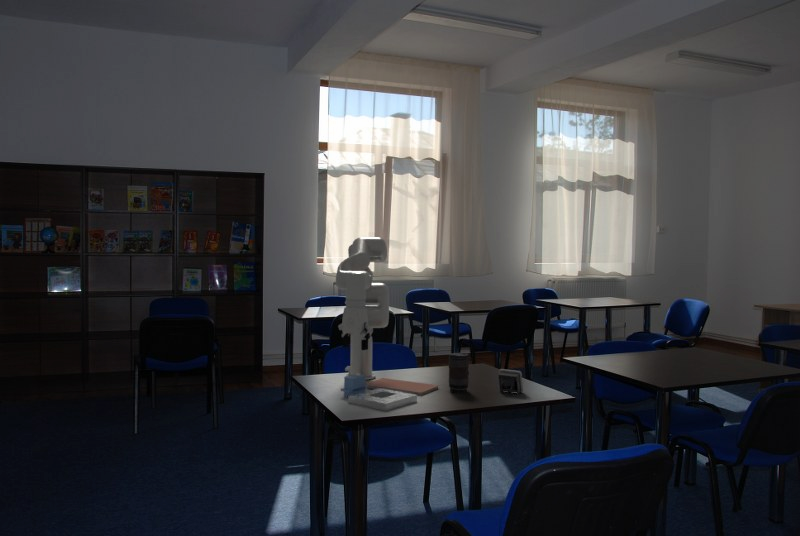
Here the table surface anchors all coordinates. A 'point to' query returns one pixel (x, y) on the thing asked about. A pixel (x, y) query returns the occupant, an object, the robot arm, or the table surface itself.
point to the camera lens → (458, 372)
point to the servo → (354, 384)
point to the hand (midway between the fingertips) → (355, 348)
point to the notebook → (402, 386)
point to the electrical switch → (510, 380)
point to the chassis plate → (382, 399)
